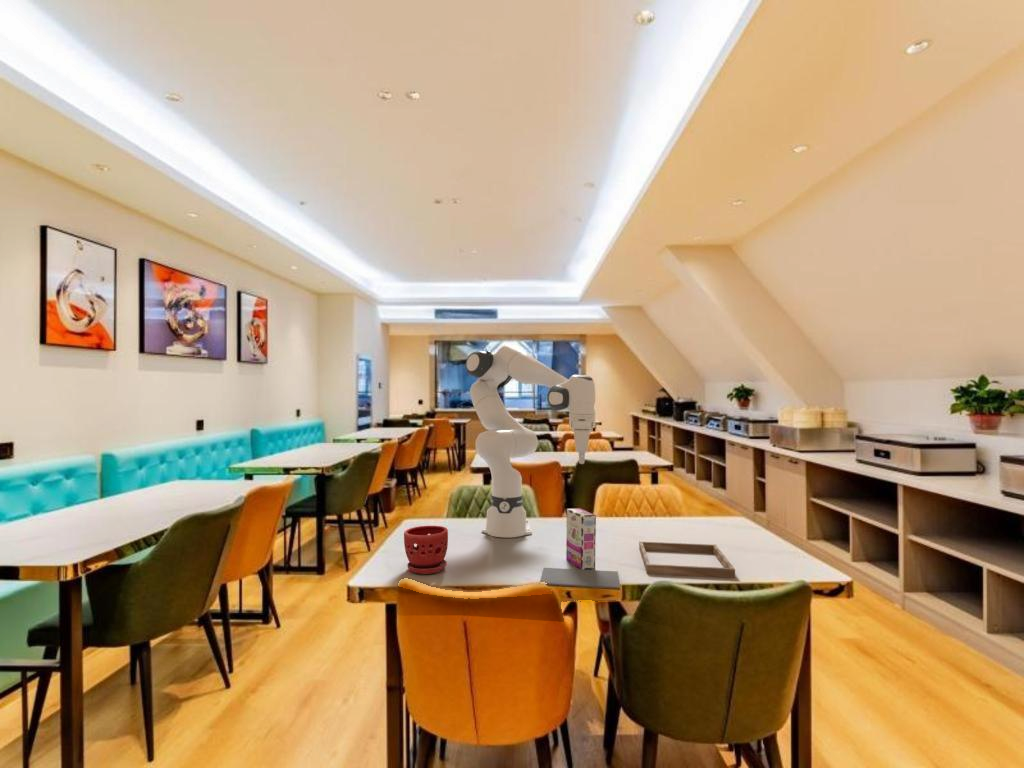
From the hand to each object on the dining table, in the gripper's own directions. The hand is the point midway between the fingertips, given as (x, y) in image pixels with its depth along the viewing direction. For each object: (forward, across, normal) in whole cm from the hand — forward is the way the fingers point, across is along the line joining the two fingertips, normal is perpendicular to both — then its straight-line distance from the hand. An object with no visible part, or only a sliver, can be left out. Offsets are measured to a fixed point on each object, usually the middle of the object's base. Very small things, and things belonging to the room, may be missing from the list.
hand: (581, 462), depth 190 cm
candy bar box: (+29, +17, 0) cm, 34 cm away
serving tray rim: (+29, +10, +32) cm, 44 cm away
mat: (+29, +30, 0) cm, 42 cm away
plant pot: (+29, +29, -46) cm, 62 cm away
